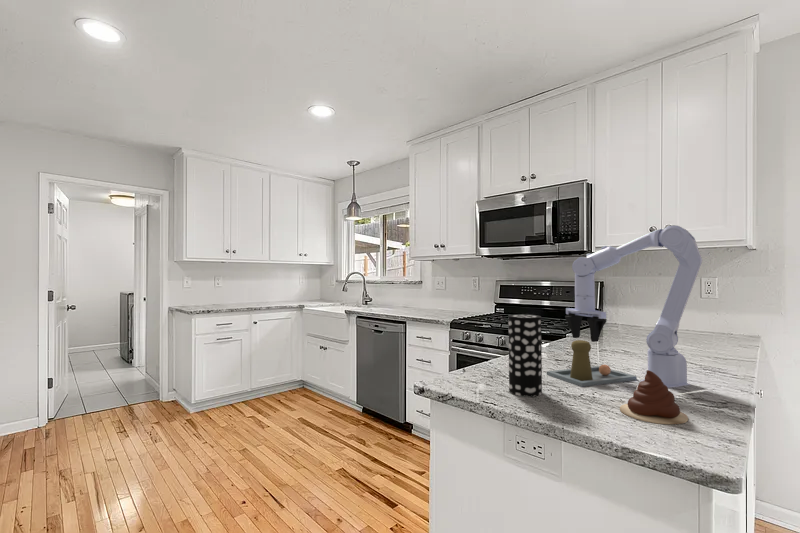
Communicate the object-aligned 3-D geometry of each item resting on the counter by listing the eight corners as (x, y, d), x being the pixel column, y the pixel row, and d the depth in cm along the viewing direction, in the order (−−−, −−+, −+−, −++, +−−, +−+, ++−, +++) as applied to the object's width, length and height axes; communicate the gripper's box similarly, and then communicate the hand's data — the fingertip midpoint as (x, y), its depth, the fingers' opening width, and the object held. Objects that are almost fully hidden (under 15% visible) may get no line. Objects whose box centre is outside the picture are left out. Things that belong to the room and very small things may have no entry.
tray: (597, 370, 132) (597, 365, 132) (636, 381, 119) (636, 376, 119) (546, 376, 125) (546, 371, 125) (581, 388, 112) (581, 383, 112)
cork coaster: (647, 401, 100) (647, 400, 100) (702, 419, 88) (702, 418, 88) (606, 408, 96) (606, 406, 96) (658, 428, 84) (658, 426, 84)
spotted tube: (547, 391, 109) (546, 315, 110) (533, 398, 103) (532, 318, 103) (518, 385, 115) (517, 313, 115) (503, 392, 109) (502, 316, 109)
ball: (604, 373, 126) (604, 363, 126) (613, 376, 123) (613, 365, 123) (596, 374, 125) (596, 364, 125) (605, 377, 122) (604, 366, 122)
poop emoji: (631, 416, 90) (630, 373, 90) (624, 404, 98) (624, 364, 98) (685, 421, 86) (684, 377, 86) (673, 409, 94) (673, 367, 94)
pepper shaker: (595, 381, 117) (595, 342, 117) (573, 380, 118) (573, 342, 118) (588, 376, 123) (588, 339, 123) (567, 375, 124) (567, 338, 124)
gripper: (558, 295, 134) (558, 336, 134) (592, 297, 121) (593, 344, 121) (575, 294, 137) (575, 335, 137) (611, 297, 123) (611, 342, 123)
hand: (585, 339), depth 129 cm, fingers open, 7 cm apart
